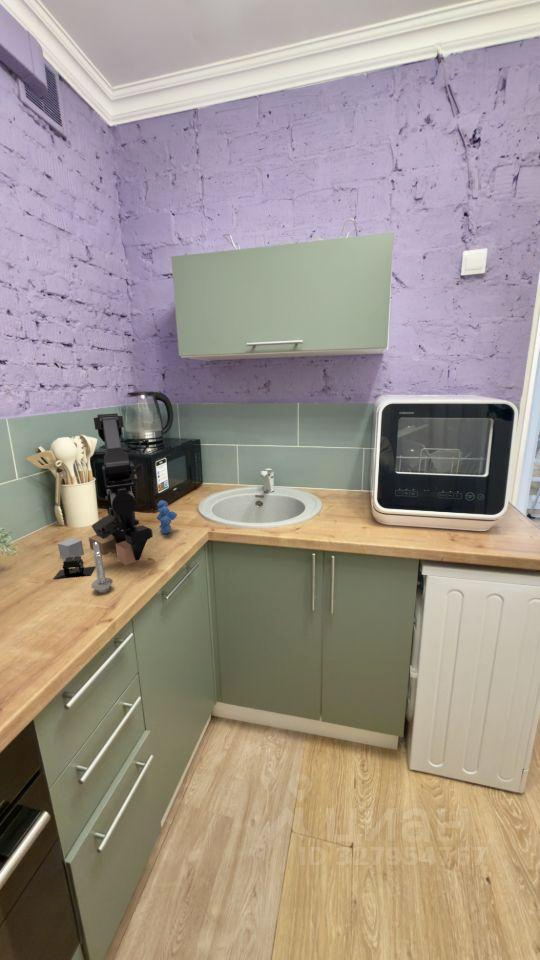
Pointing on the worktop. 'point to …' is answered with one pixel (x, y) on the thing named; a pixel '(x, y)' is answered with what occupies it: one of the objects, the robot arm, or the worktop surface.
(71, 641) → the worktop surface
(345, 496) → the worktop surface
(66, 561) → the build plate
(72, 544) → the slate cube
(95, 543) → the screw
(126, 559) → the terracotta cube
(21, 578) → the worktop surface
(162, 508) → the grapes
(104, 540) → the walnut block
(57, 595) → the worktop surface
